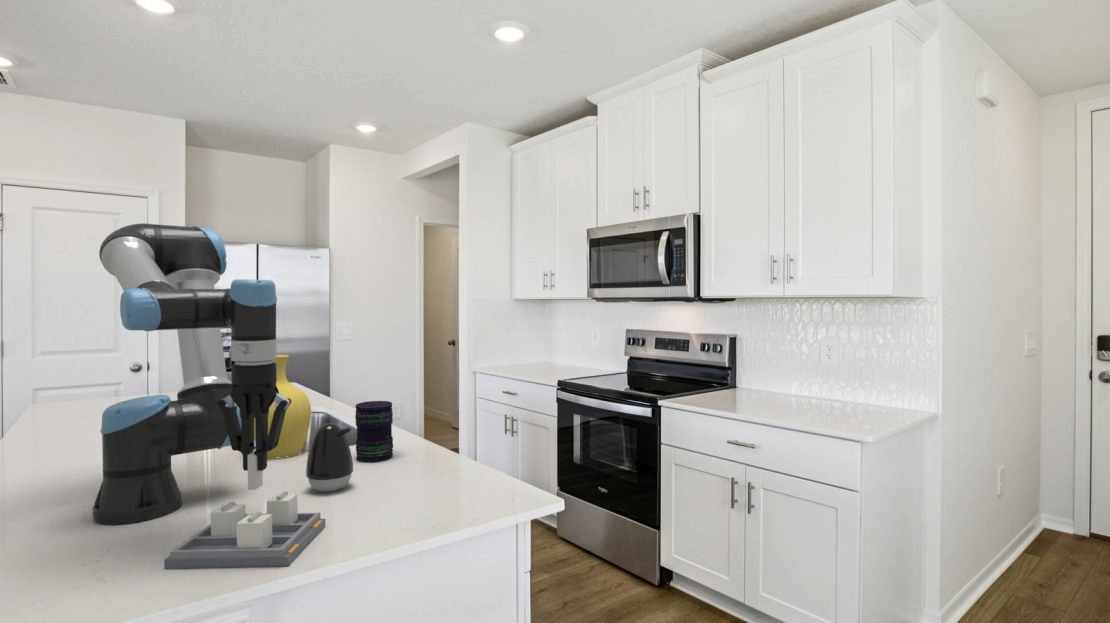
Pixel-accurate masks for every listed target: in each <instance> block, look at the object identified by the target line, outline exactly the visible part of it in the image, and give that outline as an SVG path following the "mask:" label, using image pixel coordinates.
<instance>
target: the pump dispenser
mask: <svg viewBox="0 0 1110 623" xmlns="http://www.w3.org/2000/svg"><path fill="white" fill-rule="evenodd" d="M351 431H352V430H351V428H350V426H349V427H345V428H341V427H340V426H339V425H338V424H336V423H333V422H331V423H330V422H328V423H325V424H322V425H321V426H320V427H319V428H318V429H317V430H316V433H315V434H314V436H313V438H312V441H311V444H310V447H309V450H308V455H307V460H306V467H305V476H306V478H307V480H308V483H309V485H310V486H311V487H312V488H313V489H314V490H315V491H318V492H321V493H328V492H329V493H331V492H335V491H339V490H341V489H343V488H344V487H346V486H347V485H348V483H349V482H350V480H351V477H352V474H353V472H354V464H353V458H352V452H351V448H350V445H349V442H348V439H347V437H346V434H348V433H349V432H351Z"/></svg>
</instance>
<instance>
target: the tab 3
mask: <svg viewBox="0 0 1110 623" xmlns="http://www.w3.org/2000/svg"><path fill="white" fill-rule="evenodd" d="M298 500H299V499H298V493H289V491H287V490H285V491H282V492H281V493H276V494H274V495H273V496H271V497H270V498H269V499H268V500H266V514H272V524H294V523H295V522H296V521H297V520H298V513H299V511H298V510H299V508H298V506H299V503H298V502H299V501H298Z"/></svg>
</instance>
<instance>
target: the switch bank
mask: <svg viewBox="0 0 1110 623" xmlns="http://www.w3.org/2000/svg"><path fill="white" fill-rule="evenodd" d="M253 514H254V513H245V517H246V516H247V515H253ZM263 514H264V513H261V515H263ZM325 527H326V518H321V512H298V520H297V521H296V522H295V523H294V524H272V544H271V545H270V546H269V547H268V548H263V549H237V536H215V537H211V523H210V524H208V525H206V526H205V527H204V528H203V529H201V530H200V531H199V532H197V533H195V534H194V535H193V536H191V537H190V538H188V539H187V540H185V541H184V542H182V543H181V544H180V545H178V546H177V547H174V549H172V550H171V551H170V552H169V556H167V557H166V558H164V561H163V562H164V569H206V568H209V569H210V568H211V569H212V568H217V569H219V568H261V567H263V568H265V567H266V568H268V567H289V566H290V565H291V564H292V563H293V562H294V561H295V559H297V557H298V556H299V555H300V554H301V553H302V552H303V551H304V550H305V549H306V548H307V547H308V546H309V545H310V543H311V542H312V541H314V539H316V537H317V536H318V535H319V534H320V533H321V532H322V531H323V530H324V529H325Z"/></svg>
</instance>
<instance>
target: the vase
mask: <svg viewBox="0 0 1110 623" xmlns="http://www.w3.org/2000/svg"><path fill="white" fill-rule="evenodd" d="M289 357H290V355H289V354H277V358H276V359H275V360H273V362H275V364H277V381H276V386H277V389H278V390H279V395H281V396H282V397H284V398H285V399H287V398H290V399H291V404H290V405H289V407H288V408H287V410H286V413H285V417H284V421H283V425H282V429H281V434H280V438H279V442H278V446H277V447H276V448H274V449H272V450H271V451H268V452H267V459H271V458H273V459H277V458H276V457H285V458H287V457H286V456H291V457H294V456H297V455H300V454H301V453H302V450H303V448H304V446H305V442H306V438H307V436H308V433H309V430H310V425H311V420H312V419H311V418H312V407H311V402H310V400H309V398H308V396H307V395H306V393H305V392H304V391H303V390H302V389H300V388H299V387H297V386H295V385H293V383H291V382H290V381H289V380H288V379H287V374H286V366H287V362H288V360H289ZM275 409H276V407H275V401H274V402H273V403H272V405H271V406H270V408H269V414H268V435H269V431H270V427H271V423H272V419H273V414H274V411H275ZM254 443H256V428H255V418H254ZM293 455H294V456H293Z"/></svg>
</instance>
